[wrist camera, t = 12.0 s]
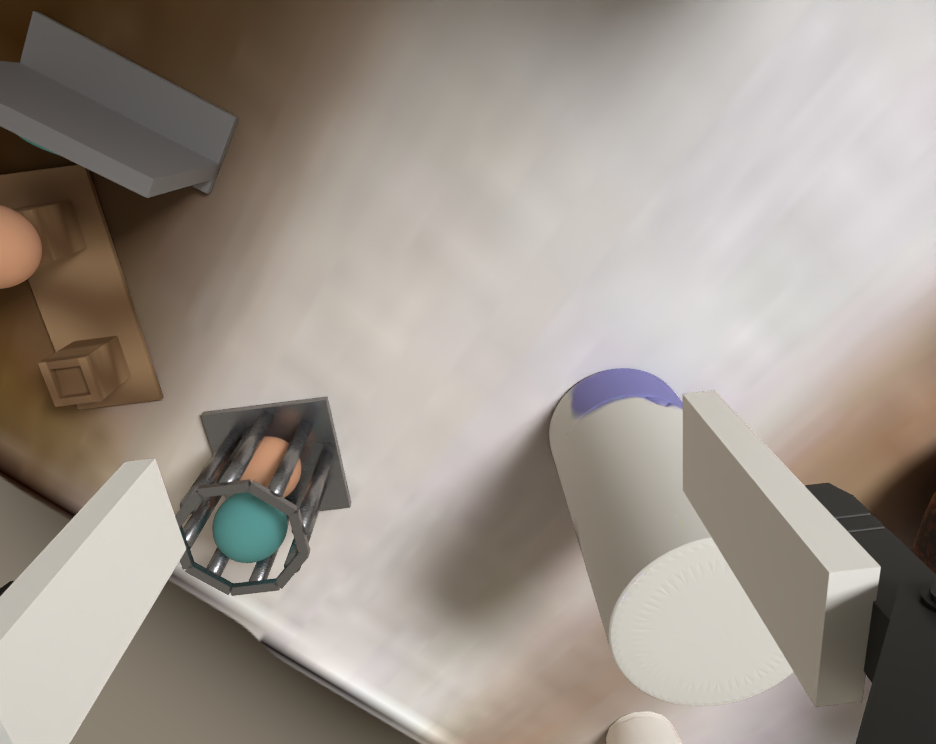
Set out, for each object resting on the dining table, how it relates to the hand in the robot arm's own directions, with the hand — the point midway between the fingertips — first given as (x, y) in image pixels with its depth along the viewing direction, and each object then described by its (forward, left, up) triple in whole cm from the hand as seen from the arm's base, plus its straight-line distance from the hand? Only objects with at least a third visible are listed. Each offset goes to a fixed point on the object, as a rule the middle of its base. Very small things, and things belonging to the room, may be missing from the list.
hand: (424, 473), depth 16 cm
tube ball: (+13, -14, -26) cm, 32 cm away
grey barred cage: (+14, -14, -29) cm, 35 cm away
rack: (0, -24, -29) cm, 37 cm away
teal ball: (+15, -14, -22) cm, 30 cm away
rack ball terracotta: (-4, -24, -22) cm, 33 cm away
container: (+15, +11, -29) cm, 34 cm away
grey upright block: (-10, -18, -29) cm, 35 cm away
